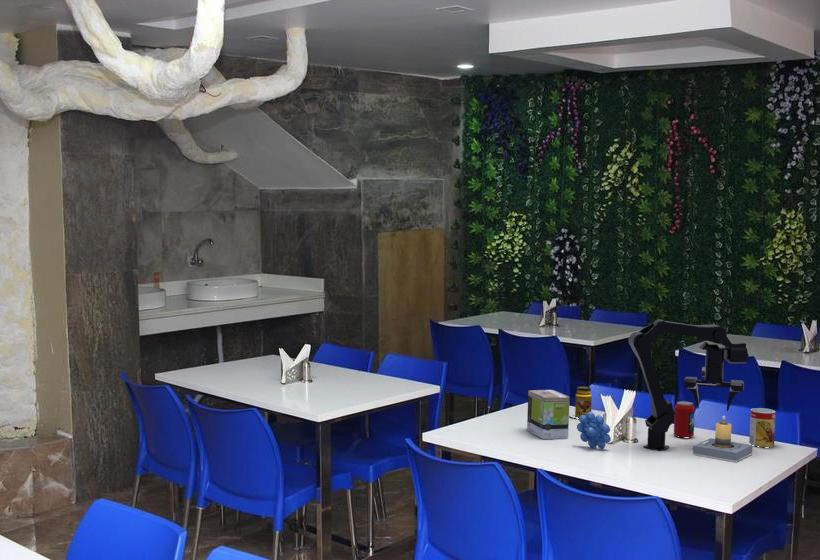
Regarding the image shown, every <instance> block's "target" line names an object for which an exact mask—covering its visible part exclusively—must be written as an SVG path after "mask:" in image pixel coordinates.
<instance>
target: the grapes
mask: <svg viewBox="0 0 820 560" xmlns="http://www.w3.org/2000/svg"><path fill="white" fill-rule="evenodd" d="M586 416H587V417H586ZM586 416H585V415H581V416H580V417H579V420H578V421H579V422H578V423H577V424H576V429H577V431H578V432H579V433H580V435H579V437H580V440H581V441H582V442H584V443H587V445H588V447H589V448H591V449H596V448H597V447H598V448H599V449H602V450H603V449H604V448H605V447H606V443H607V444H608V443H610V442H611V440H612V439H611V436H610V434H609V433H611V432H610V431H611V427H610V425H609V424H608V423H605V419H604V417H603V416H601V415H600V414H599V415H595V413H593V411H591V412H588V413H587V415H586Z"/></svg>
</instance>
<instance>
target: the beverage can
mask: <svg viewBox="0 0 820 560" xmlns="http://www.w3.org/2000/svg"><path fill="white" fill-rule="evenodd" d="M695 411H696V408H695V406H694V403H693V402H691V401H685V400H684V401H676V404H675V406H674V412H675V413H676V415H674V418H675V420H674V422H673V435H674V436H676V437H677V436H679V437H691V438H692V437H694V435H695V413H696V412H695ZM679 437H678V438H679Z"/></svg>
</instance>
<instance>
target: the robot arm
mask: <svg viewBox="0 0 820 560" xmlns="http://www.w3.org/2000/svg"><path fill="white" fill-rule="evenodd" d="M664 333H667V334H673V335H680V336H685V337H686V336H687V337H695V338H699V339H702V340H704V342H703V343H702V344H701V345H700V346H699V349H701V350H703V351H705V365H704V366H702V367H701V373H700V374H701V378H704V379H703V380H701V379H698V377H697V376H685V378H684V380H683V388H687V390H688V391H690V392H691V394H692V397H693V398H694V402H695V405H696V408H697V410H700V397H699V386H700V387H714V388H725V389H726V388H728V389H729V394H728V398H727V403H726V404H727V405H726V412H728V411H729V410H730V406H731V404H732V401H733V399H734V398H735V395H736V394H737V395H739V394H740V392H744V390H745V389H744V388H745V382H744V381H743V380H741V379H740V380H739V379H738V380H737V379H731V380H730V381H724V378H725V377H724V376H725V375H724V374H725V373H724V366H725V365H724V361H726V362H727V363H728V364H747V363H748V362H749V361H748V360H749V355H750V354H749V352H748V348H747V344H746V342H732V341H730V339H729V337H728V336H727V334H728V333H727V330H726V329H725V328H724V327H723V326H720V325H716V324H712V323H711V324H697V325H694V324H689V323H688V324H687V323H681V322H674V321H668V320H662V319H660V318H659V319H656V320H655V321H653V322H652V323H650V324H649V325H647V326H645V327H643V328H641V329H640V330H638V331H634V332H632V333H631V334H630V335H629V337H628V344H629V346H630V348H631V350H632V351H633V353H634V354H635V357H636V358H637V360H638V362H639V366H640V368H641V371H642V375H643V378H644V381H645V384H646V387H647V388H646V389H647V391H648V393H649V396H650V409H651V410H650V411H651V414H650V415H649V416H648V417H647V418H646V419H645V420H644V422H645V426H646V427H647V444H645V445H643V446H642V447H643V448H645V449H650V450H657V451H664V450H666V449H668V448H670V445H666V433H668V431H669V428H670V426H672V425H673V424H674V420H675V418H674V415H676V413H675V409H674V405H673V403H672V402H671V401H669V400H668V399H665V396H664V393H663V390H662V388H661V384H660V380H659V378H658V374H657V370H656V367H655V365H654V362H653V358H652V357H653V355H652V354H653V347H652V344H653V343H654V342H655V341H656V340H658V338H660V336H662V334H664ZM706 341H708V342H711V344H709V343H708V342H706ZM719 345H721V346H719ZM723 346H724V347H723Z"/></svg>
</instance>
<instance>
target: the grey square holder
mask: <svg viewBox="0 0 820 560" xmlns="http://www.w3.org/2000/svg"><path fill="white" fill-rule="evenodd" d="M692 451H693V452H692V456H699V457H703V458H704V457H705V458H709V459H716V460H720V461H726V462H732V463H738V462H740V461H742V460H744V459H745V457H746V458H747V456H748V457H749V455H750V454H752V455H753V446H752V445H749V443H748V444H747V443H741V442H737V441H731V448H720V447H715V438H709V439H705V440H703V441H701V442H699V443H697V444H694V445H693V447H692ZM750 456H751V455H750ZM741 459H742V460H741Z"/></svg>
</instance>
